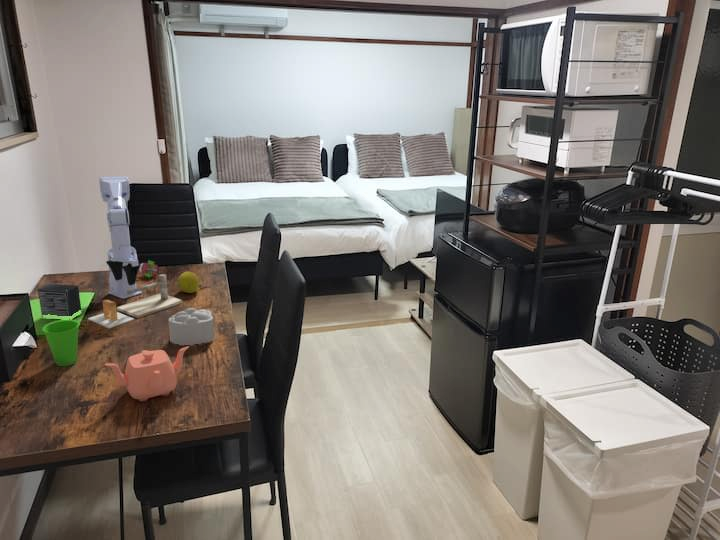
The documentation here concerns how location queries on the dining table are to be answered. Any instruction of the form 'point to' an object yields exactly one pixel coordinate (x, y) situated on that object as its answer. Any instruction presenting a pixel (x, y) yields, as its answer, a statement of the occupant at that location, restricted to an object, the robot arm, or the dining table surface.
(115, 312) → the c link
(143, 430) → the dining table surface
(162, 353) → the teapot
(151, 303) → the hook stand
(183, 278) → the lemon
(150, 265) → the geometric puzzle
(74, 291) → the small box
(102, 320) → the grey mat
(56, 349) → the cup
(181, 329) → the lumpy-topped squat cylinder
